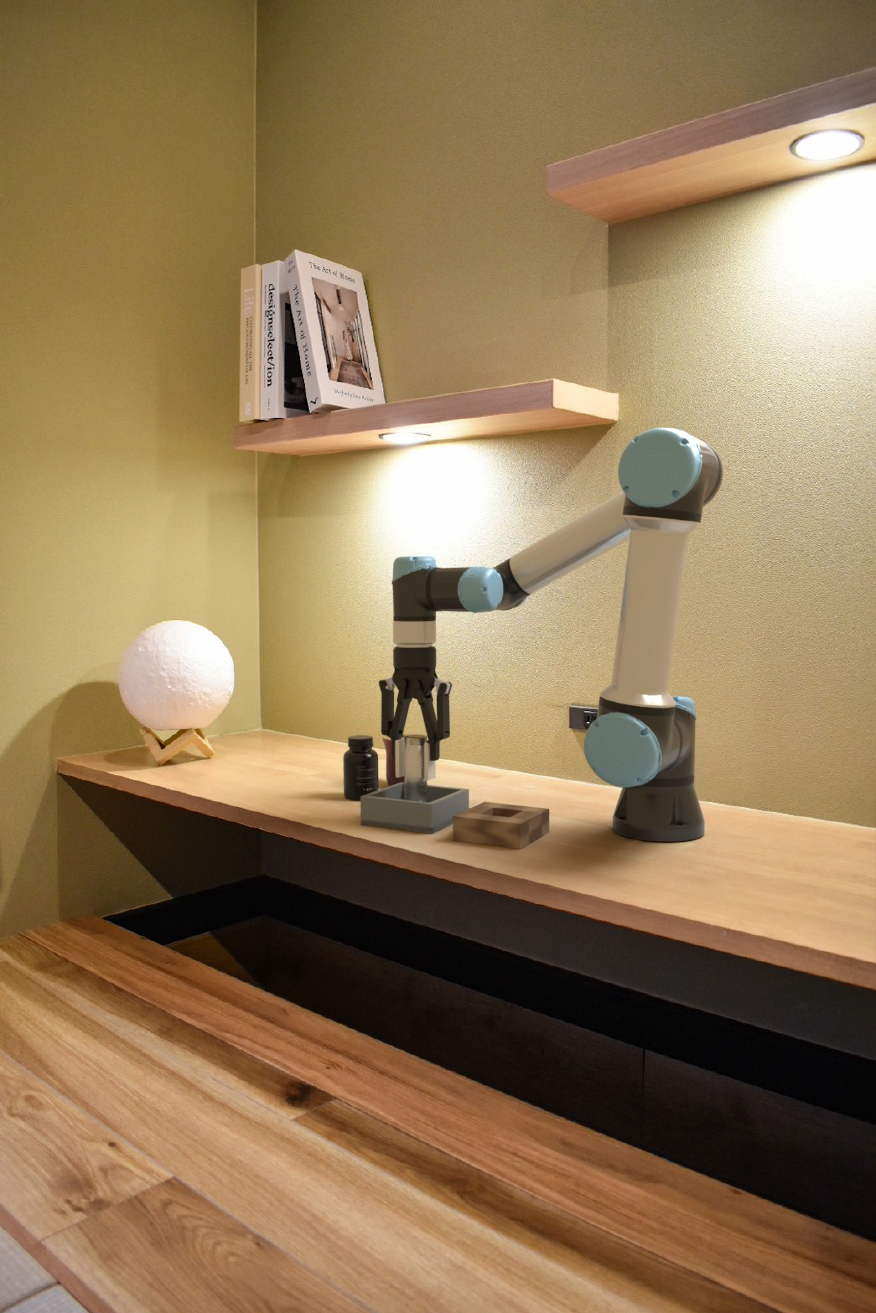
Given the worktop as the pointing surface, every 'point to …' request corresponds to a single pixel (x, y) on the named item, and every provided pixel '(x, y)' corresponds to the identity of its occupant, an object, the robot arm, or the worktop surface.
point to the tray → (413, 808)
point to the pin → (414, 768)
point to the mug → (391, 763)
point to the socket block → (501, 824)
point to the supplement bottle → (360, 767)
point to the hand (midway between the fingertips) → (415, 777)
